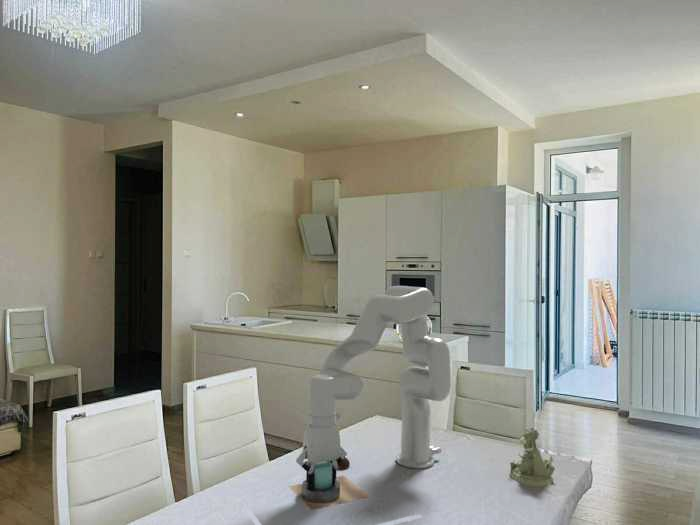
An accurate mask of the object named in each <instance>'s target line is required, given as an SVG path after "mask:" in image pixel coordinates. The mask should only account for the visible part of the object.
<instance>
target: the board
mask: <svg viewBox="0 0 700 525" xmlns="http://www.w3.org/2000/svg"><path fill="white" fill-rule="evenodd" d="M336 480H338V481H339V482H340V498H338V499H337V500H335V501H334V502H329V503H325V504H324V503H312V502H309V501H306V500H305V499H304V498H303V497H302V484H303V483H299V484H294V485H289V488H290V489H291V490H292V491H293V492H294V493H295V494H296V495H297V497H298V498H300V500H301V501H303V502H304V504H305V505H306V506H307V507H308V508H309V509H311V511H312V510H313V511H314V510H318V509H323V508H326V507H330V506H335V505H339V504H344V503H348V502H349V503H350V502H353V501H357V500H361V499H366V498H371V495H369V494H368V493H367V492H366V491H364V490H363V489H362V488H361V487H360V486H359V485H357V484H355V483H354V482H353V481H351V480H350V479H349V478H348V477H347V476H345V475H340V476H336Z"/></svg>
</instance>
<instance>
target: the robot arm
mask: <svg viewBox="0 0 700 525" xmlns="http://www.w3.org/2000/svg"><path fill="white" fill-rule="evenodd" d="M433 307H434V295H433V293H432V291H431V290H429V289H428V288H426V287H421V286H410V285H409V286H408V285H391V286H390V287H388V288H387V289H386V290H385V292H384V294H375V295H373V296H371V297H370V298H369V299H367V301H366V304H365V306H364V308H363V310H362V311H361V313H360V316H359V318H358V320H357V321H356V322H357V323H356V324H355V326H354V328H353V330H352V332H351V334H350V335H349V336H348V337H347V338H345V339H344V340H342V341H341V342H340V343H339V344H338V345H337V346H336V347H335V348H333V349H332V350H331V352H330V353H329V354H328V356H327V357H326V359H325V361H324V362H323V365H322V367H321V369H320V372H319V374H315V375H313V376H312V377H311V378H310V381H309V411H308V412H309V415H308V418H309V420H308V423H307V424H306V425H305V429H304V434H303V441H302V450H301V451H302V452H301V453H300V454H299V456H297V458H296V460H295V462H296V464H298V465H299V466H300V467H301V468H302V469H304V470H305V472H306V479H305V480H306V482H307V484H308V485H309V486H310V487H311V488H314V473H313V470H314V467H315V464H316V463H320V462H325V461H329V462H330V463H331V464H332V484H335V479H336V477H337V469H338V466H339V464H340V463H341V462H342V459H344V457H345V458H346V457H347V455H348V452H346V451H345V450H344V449H343V447H342V446H341V434H340V429H339V424H338V423H337V420H338V419H340V418H341V414H340V413H337V402H338V401H347V400H348V401H349V400H355V399H356V398H358V397H359V396H360V395H361V394H362V392H363V389H364V382H363V379H362V378H361V377H360V376H359V375H358V374H356V373H353V372H350V371H346V370H343V369H345V368H344V367H346V365H347V364H348V363H349V362H350V361H351V360H353V359H354V358H356V357H358V356H361V355H364V354H367V353H369V352H372V351H373V350H375V349H376V348H377V347H378V345H379V343H380V340H381V338H382V337H383V334H384V331H385V330H386V328H387V325H388V324H392V325H398V326H399V325H400V326H401V337H402V338H401V340H402V354H403V358H404V360H405V361H407V363H409V364H413V366H409V367H406V368H404V369H403V370H401V373H400V375H399V379H398V380H399V390H400V394H401V395H400V396H401V437H400V438H401V440H400V441H401V442H400V453H399V454H397V455H396V459H395V460H396V462H397V464H398V465H400V466H402V467H405V468H410V469H427V468H431V467H432V466H433V465H434V464H435V458H434V457H433V456H434V455H436V454H441V453H442V448H441V447H440V446H439V447H435V448H434V446H433V445H432V446H431V415H432V414H431V405H430V401H433V402H443V401H445V400H446V399H447V398H448V397H449V395H450V393H451V385H452V384H451V383H452V382H451V356H450V355H451V354H450V349H449V346H448V344H447V343H446V341H444V340H443V339H441V338H437V337H432V336H429V332H428V320H427V317H426V315H427V314H428V313H429V312H430V311H431V310H432V308H433ZM414 365H419V366H414ZM420 366H422V367H420ZM424 366H425V367H428V368H425V367H424ZM304 460H306V461H307V464H305V461H304ZM338 470H339V469H338Z"/></svg>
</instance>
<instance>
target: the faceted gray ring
mask: <svg viewBox="0 0 700 525" xmlns="http://www.w3.org/2000/svg"><path fill="white" fill-rule="evenodd" d="M301 484H302V497H303V498H304V499H305V500H306V501H309V502H312V503H324V504H325V503H329V502H334V501H335V500H337V499H338V498H340V482H339V481H338V480H336V479H335V484H332V488H331V489H326V490H316V489H312V488H311V487H310V486H309V485H308V484H307V482H306V479H305V480H303V481H302V483H301Z"/></svg>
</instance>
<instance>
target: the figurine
mask: <svg viewBox="0 0 700 525" xmlns="http://www.w3.org/2000/svg"><path fill="white" fill-rule="evenodd" d="M534 428H535V427H531V428H529V429H528V428H525V429H524V433H523V434H522V436H521V438H520V440H519V441H518V442H519V443H521V444H523V448H524V452H523V455H520V454H521V453H518V456H519V457H520V458H521V459H520V460H519V461H515V460H513V459H512V460H511V462H509V463H510V464H509V465H510V471H509V474H510V475H509V477H510V476H511V477H512V478H513V479H514V480H513V479H512V478H511V477H510V478H511V479H512V480H513V481H515V480H516V481H515V482H517V481H518V482H517V483H519V482H521V483H520V484H522V483H523V485H525V484H527V486H530V485H534V486H533V487H546V486H545V485H548V486H550V485H549V484H551V483H552V482H553V481H554V482H555V480H554V477H553V474H554V471H555V470H556V468H555V466H553V465H552V463H553V461H554V459H555V457H553V454H551V456H550V458H549V459H547V458H545V459H544V458H543V457H542V455H541V452H540V450H539V448H538V447H537V442H536V440H537V439H538V437H539V435H540V434H539V432H538V429H534ZM551 485H552V484H551Z"/></svg>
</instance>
